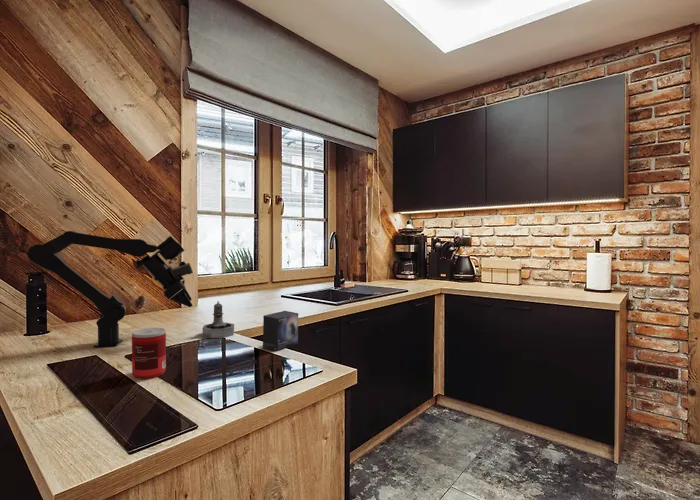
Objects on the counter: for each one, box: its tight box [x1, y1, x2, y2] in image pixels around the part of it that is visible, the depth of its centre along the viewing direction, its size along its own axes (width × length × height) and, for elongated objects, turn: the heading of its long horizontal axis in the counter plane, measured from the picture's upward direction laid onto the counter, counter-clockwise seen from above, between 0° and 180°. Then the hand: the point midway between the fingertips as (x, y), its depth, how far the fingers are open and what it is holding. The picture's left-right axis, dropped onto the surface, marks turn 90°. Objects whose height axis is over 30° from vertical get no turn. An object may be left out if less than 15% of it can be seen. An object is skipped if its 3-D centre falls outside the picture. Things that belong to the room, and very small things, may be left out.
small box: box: [262, 310, 299, 352], centre depth 123 cm, size 11×6×10 cm, turn 149°
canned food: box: [131, 327, 167, 380], centre depth 97 cm, size 8×8×11 cm
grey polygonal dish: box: [202, 322, 235, 339], centre depth 137 cm, size 10×10×3 cm
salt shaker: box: [209, 300, 227, 329], centre depth 137 cm, size 6×6×12 cm
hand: (191, 303), depth 134 cm, fingers open, 9 cm apart
